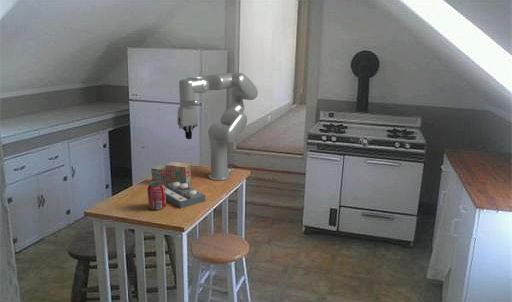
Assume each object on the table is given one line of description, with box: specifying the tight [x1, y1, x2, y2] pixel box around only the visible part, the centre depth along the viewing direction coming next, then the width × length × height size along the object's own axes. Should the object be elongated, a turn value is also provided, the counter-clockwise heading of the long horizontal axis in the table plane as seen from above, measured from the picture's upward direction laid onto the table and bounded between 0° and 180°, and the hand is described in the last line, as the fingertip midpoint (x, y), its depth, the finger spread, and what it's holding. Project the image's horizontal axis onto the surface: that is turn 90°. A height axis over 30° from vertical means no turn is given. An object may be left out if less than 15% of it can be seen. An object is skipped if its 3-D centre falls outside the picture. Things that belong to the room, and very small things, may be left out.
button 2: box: [188, 189, 198, 195], centre depth 193 cm, size 4×4×2 cm
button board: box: [165, 183, 206, 209], centre depth 198 cm, size 14×23×5 cm, turn 41°
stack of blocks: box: [150, 161, 192, 187], centre depth 217 cm, size 21×6×12 cm, turn 71°
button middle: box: [180, 183, 188, 189], centre depth 199 cm, size 4×4×2 cm
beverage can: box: [147, 181, 167, 211], centre depth 185 cm, size 8×8×12 cm
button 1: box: [172, 182, 180, 187], centre depth 205 cm, size 4×4×2 cm
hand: (188, 138), depth 207 cm, fingers closed
